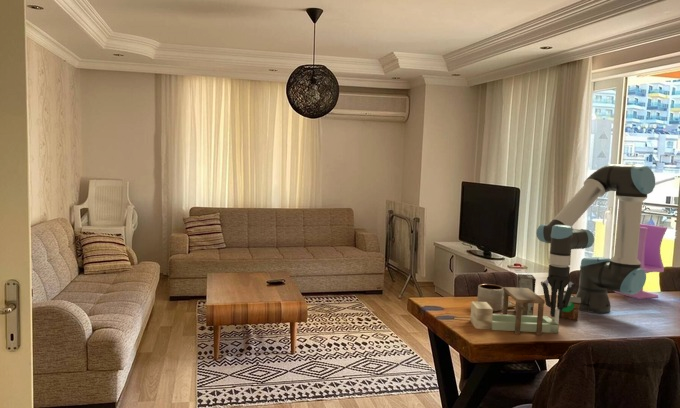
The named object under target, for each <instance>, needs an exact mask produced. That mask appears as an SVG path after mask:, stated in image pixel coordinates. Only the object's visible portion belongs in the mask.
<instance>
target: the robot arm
mask: <svg viewBox="0 0 680 408" xmlns="http://www.w3.org/2000/svg"><path fill="white" fill-rule="evenodd" d="M655 187H656V177H655V173H654V171H653V170H652V168H651V167H649V166H648V165H643V164H638V163H637V164H636V163H635V164H627V163H622V164H621V163H620V164H619V163H611V164H607V165H604V166H602V167H600V168H598V169H597V170H596V171H594V172H592V173H591V174H590V175H589V176H588V177H587V178H586V179H585V180H584V181H583V186H582V187H581V188H580V189H579V190H578V192H577V193H576V194H574V196H573V197H572V198H571V199H570V200H569V201H568V202H567V204H565V206H563V208H562V209H561V210H560V211H559V212H558V213H557V214H556V216H555V217H554V218H553V219H551V221H550V222H549V223H548V224H547V223H543V224H539V226H538V227H537V228H536V232H535V233H536V237H537V240H539V241H540V242H543V243H545V244H550V248H549V249H550V251H549V260H548V261H549V265H548V273H547V274H548V275H547V277H546V280H545V281H540V285H541V287H542V289H543V294H544V295H543V296H544V300H545V305H546V306H547V307H548V308H550V313H549V315H550V317H552V318H551V319H552V320H553V321H554V322H556V323H557V324H558V325H559V324H560V323H559V320H560V318H561V314H562V310H563V308H567V306H568V303H569V300H570V297H571V295H573V294H572V293H573V290H574V289H575V288H576V286H577V285H576V284H575V283H573V282H572V281H571V279H570V270H571V267H570V266H571V260H572V259H571V257H572V256H571V255H572V250H579V249H580V250H584V249H588V248H591V247H592V246H593V245H594V242H595V235H594V234H593V232H592V231H591V230H589V229H583V228H581V229H577V228H573V226H574V225H575V223H577V222H578V220H579V219H580V218H581V217H582V215H584V214H585V212H586V211H587V210H588V209H589V208H591V206H592V204H594V203H595V202H596V201H597V200H598V198H600V197H603V196H604V195H605V194H606V193H608V192H615V197H616V198H617V199H618V209H617V222H616V223H617V224H616V232H615V245H614V254H613V257H611V258H609V257H604V256H603V257H600V256H598V257H597V256H595V257H594V256H589V257H584V258H582V259H581V262H580V265H579V281H578V283H579V284H578V290H577V293H576V295H575V297H579V298H581V303H580V306H579V311H584V312H589V313H597V314H607V313H611V308H612V305H611V302H610V299H609V298H610V297H609V293H608V290H609V291H613V292H615V291H617V292H620V293H623V294H629V295H634V294H637V293H638V292H639V291H640V290H641V289H642V288H643V289H644V286H645V284H646V280H647V273H645V271H644V270H643V269H641V268H640V267H641V263H640V262H639V260H638V259H637V255H638V244H639V233H640V224H642V223H641V221H642V210H643V203H644V201H645V200H646V199H648V195H650V194H651V193H653V191H654V189H655ZM549 286H550V288H551V289H550V290H551V292H550V291H549ZM566 287H567V288H566ZM565 288H566V290H565ZM564 291H566V293H565V296H564V299H563V294H564ZM550 293H551V294H550ZM557 296H558V297H557Z"/></svg>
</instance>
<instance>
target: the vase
mask: <svg viewBox="0 0 680 408" xmlns="http://www.w3.org/2000/svg"><path fill="white" fill-rule="evenodd" d="M667 229H668V227H667V226H666V227H665V226H662V225H661V226H659V225H653V224H646V223H645V224H644V223H640V233H639V244H638V255H637V259H638V260H639V262H640V263H641V267H640V268H641V269H643V270H644V271H645V273H646V274H649V273H664V272H665V267H664V263H663V260H662V255H661V245H662V242H663V239H664V236H665V234H666V231H667ZM643 289H644V287H643V288H642V289H641V290H640V291H639V292H638V293H637V294H634V295H629V294H623V293H620V292H617V291H614V293H616V294H619V295H621V296H622V295H623V296H626V297H629V298H633V299H637V300H645V299H646V298H647V299H654V298H659V294H656V293H652V292H650V291H649V292H648V291H645V290H643Z"/></svg>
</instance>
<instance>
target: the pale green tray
mask: <svg viewBox="0 0 680 408" xmlns="http://www.w3.org/2000/svg"><path fill="white" fill-rule="evenodd" d="M515 321H516V314H508V313H507V314H503V313H502V314H501V313H493V315H492V329H491V330H492V331H506V332H507V331H508V332H509V331H510V332H511V331H512V332H515ZM559 328H560V326H559V323H558V324H557V323H556V322H554V321H553V320H552V318H551V316H548V315H543V322H542V333H550V334H551V333H554V334H559ZM536 329H537V315H533V316H531V315H521V326H520V332H527V333H529V332H531V333H536Z"/></svg>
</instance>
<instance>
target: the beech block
mask: <svg viewBox="0 0 680 408" xmlns="http://www.w3.org/2000/svg"><path fill="white" fill-rule="evenodd" d="M470 303H471V304H470V319H469V320H470V322H471V324H472V325H473V327H474V328H475V329H478V330H492V315H493V314H494V313H493V312H494V311H493V309H492V308H491V306H490V305H489V304H488V303H487V302H477V301H471V302H470Z"/></svg>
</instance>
